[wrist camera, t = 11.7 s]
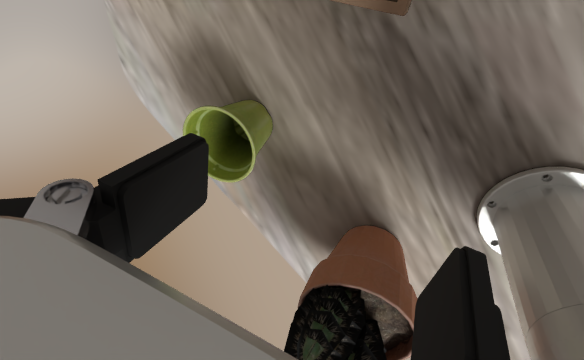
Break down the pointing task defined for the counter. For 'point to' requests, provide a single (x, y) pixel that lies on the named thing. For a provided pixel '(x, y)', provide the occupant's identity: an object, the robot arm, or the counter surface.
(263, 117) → the plant pot
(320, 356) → the potted plant
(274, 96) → the counter surface
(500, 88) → the counter surface
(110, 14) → the counter surface
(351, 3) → the crate large
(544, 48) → the counter surface
